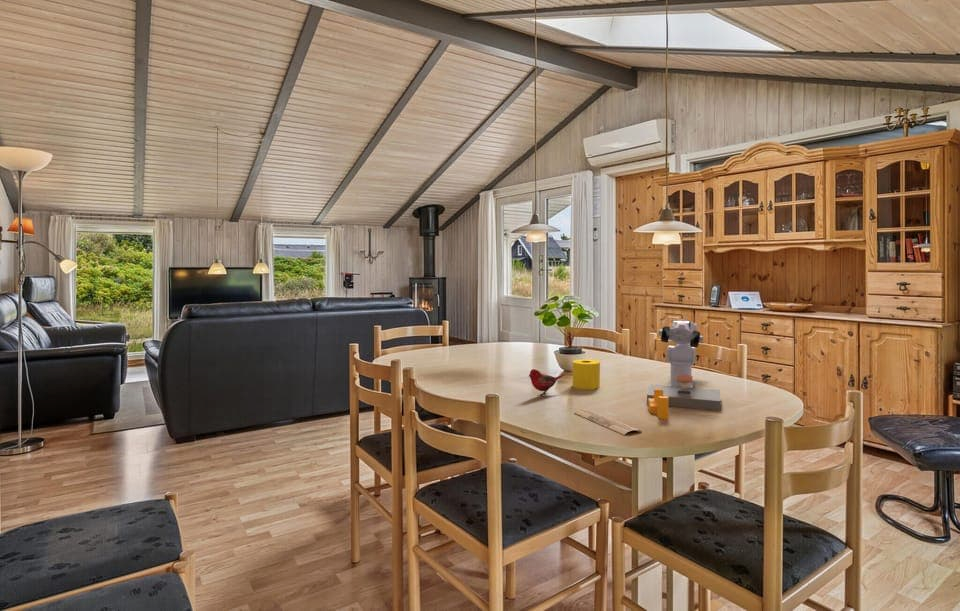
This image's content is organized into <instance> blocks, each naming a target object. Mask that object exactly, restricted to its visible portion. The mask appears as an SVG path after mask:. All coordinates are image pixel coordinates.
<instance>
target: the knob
mask: <svg viewBox="0 0 960 611" xmlns="http://www.w3.org/2000/svg"><path fill="white" fill-rule="evenodd" d="M676 381H677V382H680V389H681V390H688V383H691V384H692V383H693V375H692V374H691V375H686V374H678V375H676Z"/></svg>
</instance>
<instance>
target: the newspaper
mask: <svg viewBox="0 0 960 611" xmlns="http://www.w3.org/2000/svg"><path fill="white" fill-rule="evenodd" d="M573 413H576V414H579V415H581V416H583V417H585V418H587V419H586V420H588V419H589V420H588V421H590V420H592V421H594V422H593V423H595V422H596V423H595V424H597V423H598V425H599V424H600V426H602V425H603V426H602V427H604V426H605V428H606V427H607V429H609V430H611V431H613V432H615V431H616V433H617V434H621V435H623V436H626V434H627V433H629V432H631V431H634V432H637V433H643V431H642V430H640V429H638V428H636V427H633V426H630V425H628V424H626V423H624V422H621V421H620V420H619V421H618V420H616V419H614V418H611V417H609V416H606V415H604V414H601V413H599V412H596V411H594V410H592V409H588V408H581V409H577V410H576V411H575V412H573ZM576 414H575V415H576ZM579 415H578V416H579ZM581 416H580V417H581ZM583 417H582V418H583ZM585 418H584V419H585ZM592 421H591V422H592Z"/></svg>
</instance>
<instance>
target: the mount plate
mask: <svg viewBox="0 0 960 611" xmlns="http://www.w3.org/2000/svg"><path fill="white" fill-rule="evenodd" d="M654 389H663V395H664V396H668V398H669V404H668V407H676V408H677V407H679V408H689V409H700V410H701V409H702V410H708V409H710V411H719V410H720V411H721V391H720V389H712V388H701V387H700V388H699V387H692V388H688V390H681V389H680V387H675V386H669V385H660V384H651V386H650V388H649V391H647V394H646V404H647V405H648V398H654Z"/></svg>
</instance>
